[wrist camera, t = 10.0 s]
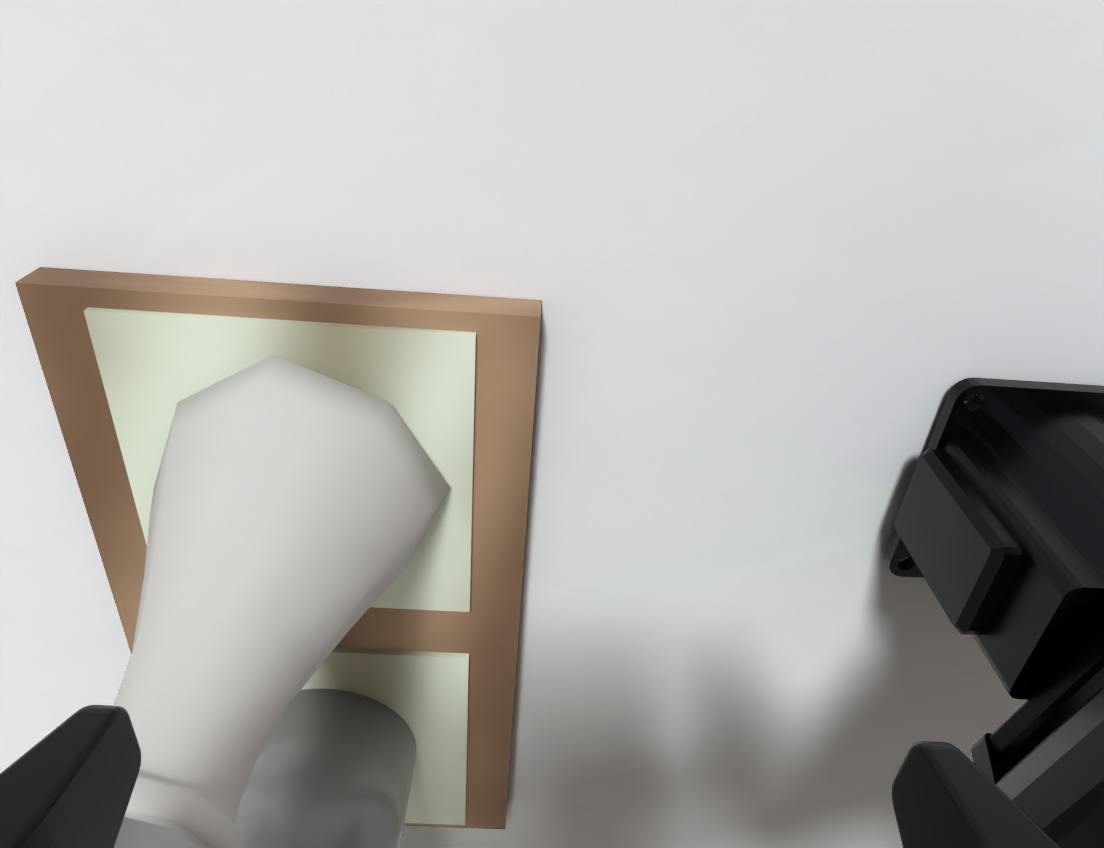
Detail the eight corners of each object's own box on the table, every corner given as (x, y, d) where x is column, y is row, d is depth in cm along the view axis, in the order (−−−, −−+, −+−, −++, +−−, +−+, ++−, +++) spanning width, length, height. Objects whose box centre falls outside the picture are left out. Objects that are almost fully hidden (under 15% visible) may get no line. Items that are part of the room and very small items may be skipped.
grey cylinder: (414, 692, 25) (371, 930, 19) (418, 796, 27) (381, 1030, 22) (237, 684, 24) (136, 922, 18) (260, 789, 27) (179, 1024, 21)
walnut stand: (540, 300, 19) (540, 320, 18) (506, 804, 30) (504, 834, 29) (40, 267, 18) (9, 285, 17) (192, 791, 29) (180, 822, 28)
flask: (334, 620, 23) (206, 1017, 14) (110, 481, 20) (-213, 869, 12) (498, 480, 20) (461, 866, 12) (265, 298, 17) (-5, 628, 9)
